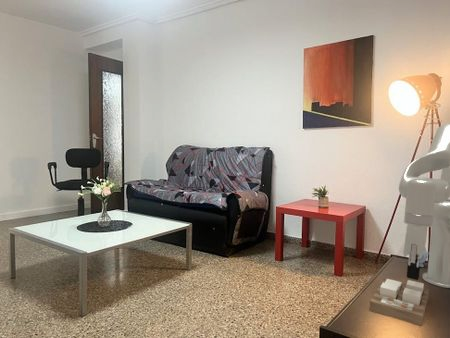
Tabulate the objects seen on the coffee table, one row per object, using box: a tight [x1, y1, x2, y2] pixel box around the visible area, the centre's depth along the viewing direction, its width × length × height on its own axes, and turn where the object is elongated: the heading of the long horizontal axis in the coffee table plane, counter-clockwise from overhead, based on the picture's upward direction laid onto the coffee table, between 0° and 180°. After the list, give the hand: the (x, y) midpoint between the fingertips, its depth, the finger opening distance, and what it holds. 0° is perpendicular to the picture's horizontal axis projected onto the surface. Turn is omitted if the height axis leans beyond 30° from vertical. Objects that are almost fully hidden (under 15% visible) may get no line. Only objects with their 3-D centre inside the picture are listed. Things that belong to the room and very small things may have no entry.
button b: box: [405, 279, 425, 296], centre depth 112 cm, size 5×5×3 cm
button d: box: [402, 288, 421, 306], centre depth 106 cm, size 5×5×3 cm
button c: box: [379, 282, 398, 299], centre depth 109 cm, size 5×5×3 cm
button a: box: [385, 278, 403, 291], centre depth 116 cm, size 5×5×3 cm
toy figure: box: [419, 247, 429, 268], centre depth 145 cm, size 11×6×12 cm, turn 56°
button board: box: [369, 278, 430, 327], centre depth 109 cm, size 22×14×4 cm, turn 145°
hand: (412, 278), depth 105 cm, fingers closed
